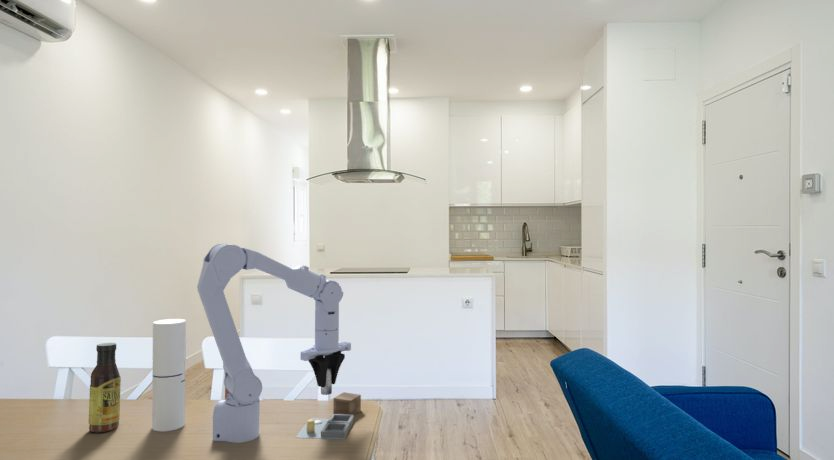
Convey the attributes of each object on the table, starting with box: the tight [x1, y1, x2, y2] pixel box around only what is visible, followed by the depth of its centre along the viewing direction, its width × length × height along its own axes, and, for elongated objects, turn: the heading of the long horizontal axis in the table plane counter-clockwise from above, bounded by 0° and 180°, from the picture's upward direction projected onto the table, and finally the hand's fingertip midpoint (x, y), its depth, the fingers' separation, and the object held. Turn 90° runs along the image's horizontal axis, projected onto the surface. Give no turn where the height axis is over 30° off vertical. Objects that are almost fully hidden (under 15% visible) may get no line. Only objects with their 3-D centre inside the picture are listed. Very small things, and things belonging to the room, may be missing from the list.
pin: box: [320, 367, 333, 396], centre depth 127 cm, size 3×3×6 cm
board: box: [295, 413, 355, 440], centre depth 121 cm, size 11×12×4 cm
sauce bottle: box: [88, 342, 122, 434], centre depth 123 cm, size 6×6×20 cm
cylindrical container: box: [151, 318, 187, 432], centre depth 125 cm, size 7×7×25 cm
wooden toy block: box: [332, 392, 362, 416], centre depth 132 cm, size 5×5×5 cm
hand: (326, 384), depth 127 cm, fingers closed on pin, 3 cm apart
